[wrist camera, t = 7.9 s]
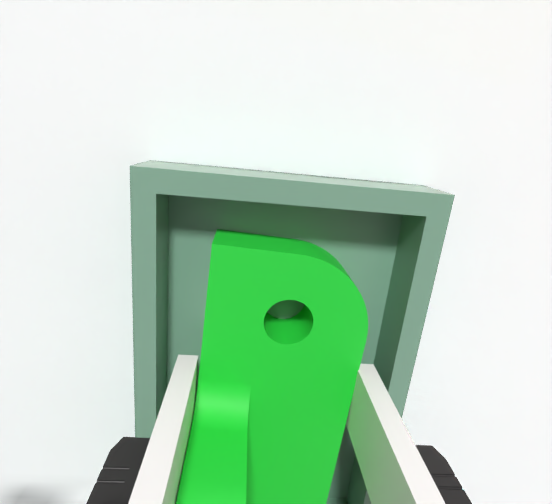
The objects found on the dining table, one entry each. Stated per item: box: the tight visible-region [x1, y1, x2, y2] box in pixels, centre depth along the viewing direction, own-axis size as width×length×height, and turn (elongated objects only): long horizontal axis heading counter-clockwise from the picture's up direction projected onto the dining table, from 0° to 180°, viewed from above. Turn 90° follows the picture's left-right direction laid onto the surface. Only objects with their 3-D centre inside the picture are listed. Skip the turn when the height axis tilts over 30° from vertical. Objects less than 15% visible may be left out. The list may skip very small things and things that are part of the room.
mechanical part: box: [176, 229, 368, 504], centre depth 13 cm, size 12×6×8 cm, turn 172°
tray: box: [130, 160, 455, 504], centre depth 16 cm, size 11×17×2 cm, turn 175°
